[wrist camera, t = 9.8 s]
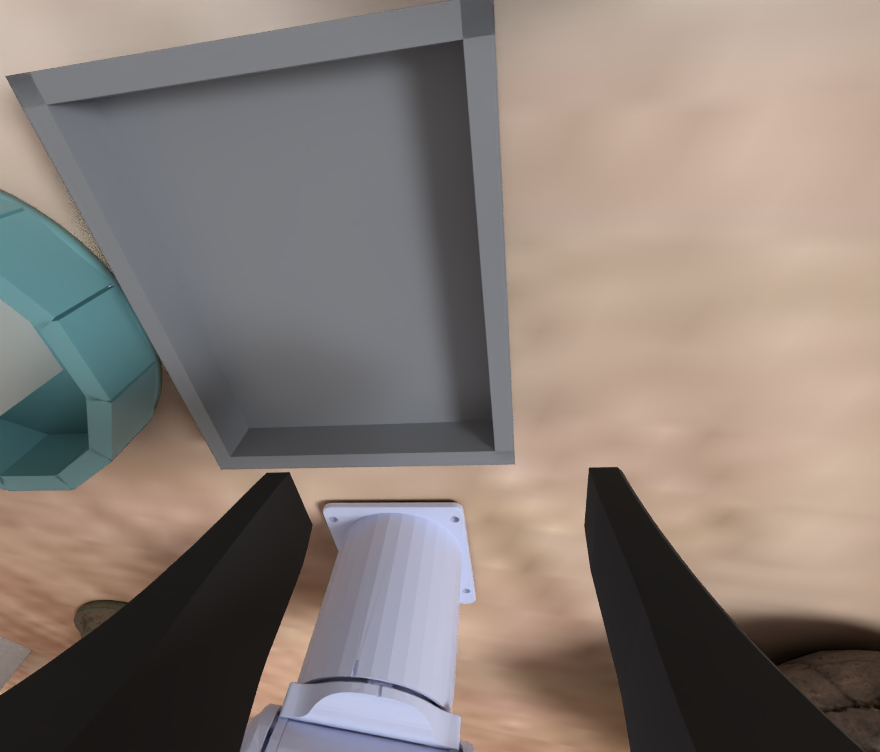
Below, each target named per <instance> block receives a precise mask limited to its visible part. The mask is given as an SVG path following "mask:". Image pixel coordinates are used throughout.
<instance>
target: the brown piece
mask: <svg viewBox="0 0 880 752" xmlns="http://www.w3.org/2000/svg"><path fill="white" fill-rule="evenodd" d="M777 667H778V668H779V669H780V670H781V672H782V673H783V674H784V675H785V676H786V677H787V678H788V679H789V680H790V681H791V682H792V683H793V684H794V685H796V686H797V687H798V688H799V689H800V690H801V691H802V692H803V693H804V694H805V695H806V696H807V697H808V698H809V699H810V700H811V701H812V702H813V703H814V704H816V705H817V706H818V707H819V708H820V709H821V710H822V711H823V712H824V713H825V714H826V715H827V716H828V717H829V718H830V719H831V720H832V721H833V722H834V723H835V724H837V725H838V726H839V727H840V728H841V729H842V730H843V731H844V732H845V733H846V734H847V735H848V736H849V737H850V738H851V739H852V740H853V741H854V742H856V743H857V744H858V745H859V746H860V747H861V748H862V749H863V750H864V751H866V752H880V651H869V650H838V651H819V652H815V653H812V654H809V655H805V656H802V657H799V658H796V659H793V660H791V661H788V662H785V663H782V664H780V665H777Z"/></svg>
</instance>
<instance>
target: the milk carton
mask: <svg viewBox="0 0 880 752" xmlns="http://www.w3.org/2000/svg"><path fill="white" fill-rule="evenodd" d="M31 651H32V650H30V649H28V648H26V647H23V646H21V645H19V644H16V643H14V642H12V641H9V640H7V639H5V638H3V637H0V690H1V689H2V688H3V686H4V685H5V684H6V683H7V681H8V680H9V679H10V678H11V676H12V675H13V674H14V672H15V671H16V670H17V669H18V667H19V666H20V665H21V663H22V662H23V661H24V660H25V658H26V657H27V656H28V654H29V653H30V652H31Z"/></svg>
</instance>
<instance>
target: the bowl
mask: <svg viewBox="0 0 880 752" xmlns="http://www.w3.org/2000/svg"><path fill="white" fill-rule="evenodd" d="M0 299H1V300H2V301H3V302H5V303H6V304H7V305H9V306H10V307H11V308H13V309H14V310H15V311H17V312H18V313H19V314H21V315H22V316H23V317H24V318H26V319H27V320H28V321H30V323H31V324H32V325H33V327H34V328H35V330H36V331H37V333H38V334H39V336H40V337H41V338H42V340H43V341H44V343H45V344H46V346H47V347H48V348H49V350H50V351H51V353H52V354H53V356H54V357H55V358H56V360H57V361H58V363H59V364H60V366H61V367H62V369H63V370H62V371H61V372H60V373H58V374H57V375H55V376H54V377H53V378H51V379H50V380H49V381H47V382H46V383H45V384H43V385H42V386H40V387H39V388H38V389H36V390H35V391H34V392H32V393H31V394H30V395H28V396H27V397H25V398H24V399H23V400H21V401H20V402H19V403H17V404H16V405H14V406H13V407H12V408H10V409H9V410H8V411H6V412H5V413H4V414H2V415H1V416H0V489H3V490H6V489H7V490H8V491H35V490H72V489H75V488H77V487H78V486H79V485H81V484H82V483H83V482H85V481H86V480H87V479H89V478H90V477H91V476H93V475H94V474H95V473H97V472H98V471H99V470H101V469H102V468H104V467H105V466H106V465H108V464H109V463H110V462H112V461H113V459H114V458H115V457H116V456H117V455H118V454H119V453H120V452H121V451H122V450H123V449H124V448H125V447H126V446H127V445H128V444H129V442H130V441H131V440H132V439H133V438H134V437H135V436H136V435H137V434H138V433H139V432H140V431H141V430H142V429H143V428H144V427H145V425H146V424H147V423H148V422H149V421H150V420H151V419H152V417H153V411H154V409H155V408H156V405H157V402H158V400H159V397H160V392H161V386H162V368H161V363H160V358H159V355H158V353H157V352H156V350H155V348H154V346H153V344H152V343H151V341H150V339H149V337H148V335H147V333H146V332H145V330H144V328H143V326H142V324H141V323H140V321H139V319H138V317H137V315H136V313H135V312H134V310H133V308H132V306H131V304H130V302H129V301H128V299H127V297H126V295H125V293H124V292H123V290H122V288H121V286H120V284H119V282H118V281H117V279H116V277H115V276H114V275H113V273H112V272H111V271H110V270H109V269H108V268H107V267H106V266H105V265H104V263H103V262H102V261H101V260H100V259H99V258H98V257H97V256H95V255H94V254H93V253H92V252H91V251H90V250H89V249H88V248H87V247H86V246H85V245H84V244H83V243H82V242H81V241H79V240H78V239H77V238H76V237H74V236H73V235H72V234H71V233H69V232H68V231H67V230H66V229H64V228H63V227H62V226H61V225H59V224H58V223H56V222H55V221H54V220H52V219H51V218H49V217H48V216H46V215H45V214H43V213H42V212H40V211H39V210H37V209H36V208H34V207H32V206H31V205H29V204H27V203H25V202H24V201H22V200H20V199H18V198H17V197H15V196H13V195H11V194H9V193H7V192H5V191H3V190H0Z"/></svg>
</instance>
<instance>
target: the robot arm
mask: <svg viewBox="0 0 880 752" xmlns="http://www.w3.org/2000/svg"><path fill="white" fill-rule="evenodd" d="M323 515H324V517H325V520H326V522H327V525H328V527H329V530H330V532H331V535H332V537H333V539H334V542H335V544H336V547H337V549H338V554H337V558H336V561H335V564H334V567H333V570H332V574H331V577H330V580H329V583H328V586H327V589H326V593H325V596H324V599H323V602H322V605H321V608H320V612H319V615H318V618H317V621H316V624H315V627H314V631H313V634H312V637H311V640H310V643H309V646H308V650H307V653H306V656H305V659H304V662H303V666H302V669H301V672H300V675H299V678H298V681H297V683H295V682H291V683H290V685H289V688H288V691H287V694H286V697H285V700H284V703H283V706H281V705H275V704H269V705H267V706H266V707H265V708H264V709H263V710H262V712H260V713H259V714H258V715H256V716H255V717H254V718H252V719H251V720H250V721H249V722H248V719H249V716H250V712H251V709H252V705H253V702H254V698H255V695H256V691H257V688H258V684H259V681H260V677H261V675H262V672H263V669H264V666H265V663H266V660H267V657H268V655H269V652H270V649H271V647H272V644H273V642H274V639H275V636H276V634H277V631H278V629H279V626H280V624H281V621H282V618H283V616H284V613H285V611H286V608H287V606H288V603H289V600H290V598H291V595H292V592H293V590H294V587H295V585H296V582H297V579H298V577H299V574H300V571H301V568H302V566H303V562H304V558H305V554H306V551H307V547H308V543H309V538H310V534H311V530H312V523H311V521H310V518H309V516H308V514H307V511H306V509H305V507H304V505H303V502H302V500H301V498H300V495H299V493H298V491H297V488H296V486H295V484H294V482H293V479H292V477H291V475H290V472H283V473H266V474H265V475H264V476H263V477H262V478H261V479H260V480H259V481H258V482H257V483H256V484H255V485H254V486H253V487H252V488H251V489H250V490H249V491H248V492H247V493H246V494H245V495H244V496H243V497H242V498H241V499H240V500H239V501H238V502H237V503H236V504H235V505H234V506H233V507H232V508H231V509H230V510H229V511H228V512H227V513H226V514H225V515H224V516H223V517H222V518H221V519H220V520H219V521H218V522H217V523H216V524H214V525H213V526H212V527H211V528H210V529H209V530H208V531H207V532H206V533H205V534H204V535H203V536H202V537H201V538H200V539H199V540H198V541H197V542H196V543H195V544H194V545H193V546H192V547H191V548H190V549H189V550H187V551H186V552H185V553H184V554H183V555H182V556H181V557H180V558H179V559H178V560H177V561H175V562H174V563H173V564H172V565H171V566H170V567H169V568H168V569H167V570H166V571H165V572H163V573H162V574H161V575H160V576H159V577H158V578H157V579H156V580H155V581H154V582H152V583H151V584H150V585H149V586H148V587H147V588H145V589H144V590H143V591H142V592H141V593H139V594H138V595H137V596H136V597H135V598H134V599H132V600H131V601H130V602H129V603H127V604H126V605H125V606H124V607H122V608H121V609H120V610H119V611H117V612H116V613H115V614H114V615H112V616H111V617H110V618H109V619H107V620H106V621H105V622H104V623H102V624H101V625H100V626H98V627H97V628H96V629H94V630H93V631H92V632H90V633H89V634H88V635H86V636H85V637H83V638H82V639H81V640H79V641H78V642H77V643H75V644H74V645H72V646H71V647H70V648H68V649H67V650H66V651H64V652H63V653H61V654H60V655H59V656H57V657H56V658H55V659H53V660H52V661H51V662H49V663H48V664H46V665H45V666H43V667H42V668H41V669H39V670H38V671H36V672H35V673H33V674H32V675H30V676H29V677H27V678H26V679H24V680H23V681H21V682H20V683H18V684H17V685H15V686H14V687H12V688H11V689H9V690H8V691H6V692H5V693H3V694H2V695H0V752H476V751H475V749H474V747H473V745H472V744H470V743H469V742H466V741H461V740H460V725H461V716H460V715H458V714H454V713H452V703H453V698H454V687H455V671H456V656H457V640H458V625H459V609H460V603H465V604H470V603H473V602H475V600H476V593H475V586H474V579H473V572H472V566H471V559H470V552H469V545H468V538H467V531H466V524H465V517H464V510H463V507H462V506H461V505H460V504H458V503H455V502H415V503H327V504H326V505H325V506H324V508H323ZM584 526H585V534H586V541H587V548H588V555H589V562H590V569H591V573H592V577H593V581H594V586H595V590H596V594H597V598H598V602H599V606H600V610H601V614H602V617H603V621H604V625H605V629H606V633H607V637H608V641H609V645H610V649H611V653H612V657H613V661H614V665H615V669H616V673H617V677H618V682H619V687H620V691H621V696H622V701H623V707H624V713H625V719H626V726H627V732H628V738H629V744H630V750H631V752H866V751H864V750H863V749H862V748H861V747H860V746H859V745H858V744H857V743H856V742H854V741H853V740H852V739H851V738H850V737H849V736H848V735H847V734H846V733H845V732H844V731H843V730H842V729H841V728H840V727H839V726H838V725H837V724H835V723H834V722H833V721H832V720H831V719H830V718H829V717H828V716H827V715H826V714H825V713H824V712H823V711H822V710H821V709H820V708H819V707H818V706H817V705H816V704H814V703H813V702H812V701H811V700H810V699H809V698H808V697H807V696H806V695H805V694H804V693H803V692H802V691H801V690H800V689H799V688H798V687H797V686H796V685H794V684H793V683H792V682H791V681H790V680H789V679H788V678H787V677H786V676H785V675H784V674H783V673H782V672H781V670H780V669H779V668H778V667H777V666H776V665H775V664H774V663H773V662H772V661H771V660H770V659H769V658H768V657H767V656H766V655H765V654H764V653H763V652H762V651H761V650H760V649H759V648H758V647H757V646H756V645H755V644H754V642H753V641H752V640H751V639H750V638H749V637H748V636H747V635H746V634H745V633H744V632H743V631H742V630H741V628H740V627H739V626H738V625H737V624H736V623H735V622H734V621H733V620H732V619H731V617H730V616H729V615H728V614H727V613H726V612H725V611H724V609H723V608H722V607H721V606H720V605H719V604H718V603H717V601H716V600H715V599H714V598H713V597H712V595H711V594H710V593H709V592H708V591H707V589H706V588H705V587H704V586H703V585H702V583H701V582H700V581H699V580H698V579H697V577H696V576H695V575H694V574H693V572H692V571H691V570H690V569H689V567H688V566H687V565H686V564H685V562H684V561H683V560H682V558H681V557H680V556H679V554H678V553H677V552H676V550H675V549H674V548H673V546H672V545H671V544H670V542H669V541H668V540H667V538H666V537H665V536H664V534H663V533H662V532H661V530H660V529H659V528H658V526H657V525H656V523H655V522H654V520H653V519H652V518H651V516H650V515H649V513H648V512H647V510H646V509H645V507H644V506H643V504H642V503H641V501H640V500H639V498H638V497H637V495H636V494H635V492H634V490H633V489H632V487H631V486H630V484H629V482H628V481H627V479H626V477H625V475H624V474H623V472H622V471H621V470H620V469H619V468H618V467H600V468H589V475H588V488H587V500H586V513H585V525H584ZM247 723H248V724H247Z"/></svg>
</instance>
